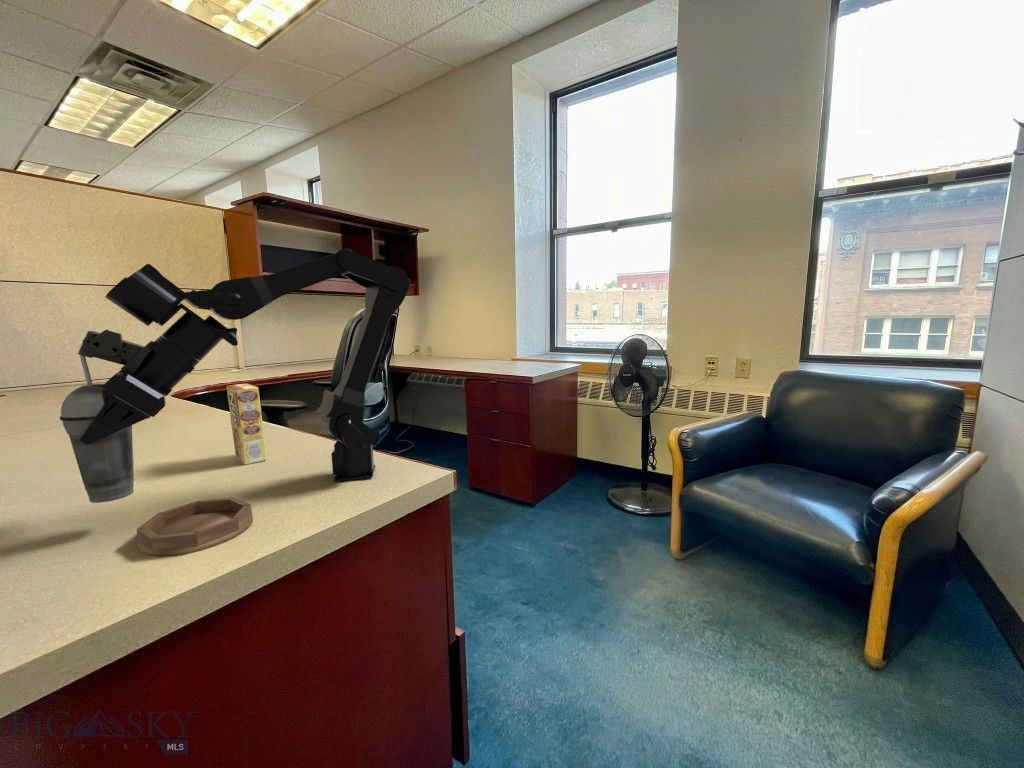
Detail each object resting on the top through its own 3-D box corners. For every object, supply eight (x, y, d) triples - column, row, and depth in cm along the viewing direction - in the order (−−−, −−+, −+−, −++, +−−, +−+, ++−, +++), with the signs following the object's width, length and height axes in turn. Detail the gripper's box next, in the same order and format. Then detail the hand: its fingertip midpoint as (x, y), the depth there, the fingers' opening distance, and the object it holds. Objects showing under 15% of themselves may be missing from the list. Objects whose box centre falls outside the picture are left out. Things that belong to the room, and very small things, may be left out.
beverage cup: (103, 509, 55) (77, 352, 52) (59, 505, 57) (31, 353, 54) (159, 487, 62) (139, 348, 60) (119, 484, 64) (97, 348, 61)
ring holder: (265, 507, 66) (264, 493, 66) (231, 548, 54) (230, 532, 54) (171, 516, 64) (169, 501, 63) (113, 562, 52) (111, 544, 51)
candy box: (267, 460, 89) (260, 386, 87) (244, 465, 86) (235, 389, 84) (255, 451, 95) (248, 382, 93) (233, 456, 92) (225, 385, 90)
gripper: (127, 310, 66) (35, 391, 61) (114, 306, 51) (-10, 412, 46) (198, 358, 72) (119, 435, 67) (204, 367, 57) (103, 467, 52)
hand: (88, 437), depth 58 cm, fingers closed on beverage cup, 7 cm apart
